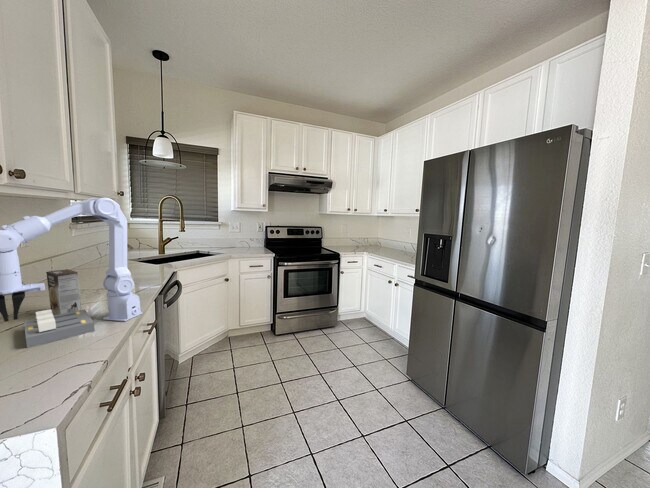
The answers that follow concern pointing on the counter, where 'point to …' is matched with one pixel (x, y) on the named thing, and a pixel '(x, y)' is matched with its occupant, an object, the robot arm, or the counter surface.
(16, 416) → the counter surface
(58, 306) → the coffee box
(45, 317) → the switch middle
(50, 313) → the switch far
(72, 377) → the counter surface
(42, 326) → the switch near
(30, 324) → the switch box
